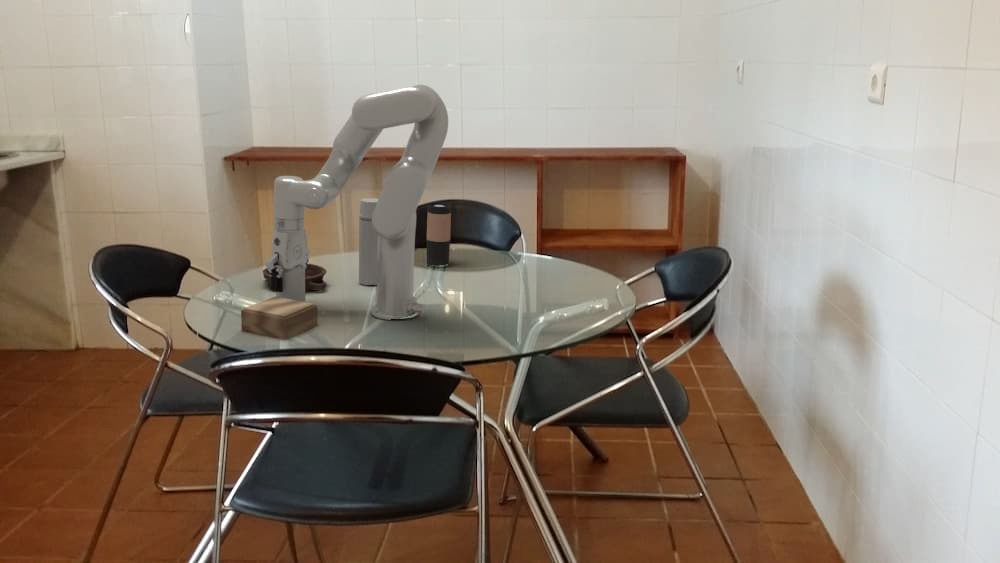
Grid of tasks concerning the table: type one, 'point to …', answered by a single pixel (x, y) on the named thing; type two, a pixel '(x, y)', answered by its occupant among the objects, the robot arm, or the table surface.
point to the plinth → (279, 317)
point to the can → (293, 284)
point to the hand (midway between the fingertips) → (288, 287)
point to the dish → (307, 277)
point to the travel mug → (438, 233)
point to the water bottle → (367, 243)
